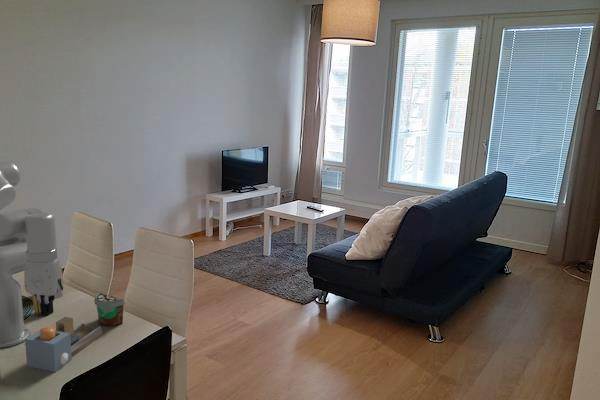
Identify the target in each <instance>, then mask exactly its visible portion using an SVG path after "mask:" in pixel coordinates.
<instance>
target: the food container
mask: <svg viewBox="0 0 600 400" xmlns="http://www.w3.org/2000/svg"><path fill="white" fill-rule="evenodd" d="M102 292H103V291H102V290H101V291H100V292H98V293H96V294H95V296H94V299H93V301H94V305H96V310H97V318H98V323H99V325H100V326H101V327H108V328H109V327H116V326H120V325H121V326H122V324H124V321H123V320H124V305H125V304H126V302H125V299H124V298H120V299H119V298H116V297H114V296H113V295H106V294H104V293H102Z"/></svg>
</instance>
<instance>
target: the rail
mask: <svg viewBox="0 0 600 400" xmlns="http://www.w3.org/2000/svg"><path fill="white" fill-rule="evenodd" d="M74 334H78V335H79V341H78V342H76V343H75V344H73V345H72V346H71V355H72V358H73V357H74V356H77V354H78V353H80V352H81V351H83V350H85V348H86V347H88V346H90V345H91V344H92V343H93V342H95V341H97V340H98V339H99V338H101V337H102V336H103V330H102V326H101V325H100V326H98V327H96V328H95V329H94V328H90V327H89V328H88V327H86V325H85V323H80V325H78V326H77V327H74Z"/></svg>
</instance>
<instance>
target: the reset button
mask: <svg viewBox="0 0 600 400" xmlns="http://www.w3.org/2000/svg"><path fill="white" fill-rule="evenodd" d="M42 328H43V329H42ZM42 328H40V329H41V330H40V329H39V330H40V339H41V340H44V341H50V340H52V339H53V338H55V331H56V327H53V326H47V327H42Z"/></svg>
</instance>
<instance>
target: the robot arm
mask: <svg viewBox="0 0 600 400" xmlns="http://www.w3.org/2000/svg"><path fill="white" fill-rule="evenodd" d="M20 182H21V171H20V170H19V168H18V167H17V166H16V165H15V163H13V162H10V161H8V160H7V161H0V348H7V347H12V346H13V347H14V346H16V345H19V344H21V343H23V342H25V338H27V337H29V336H30V335H31V331H30V329H29V328H28V327H25V321H24V311H23V309H24V308H23V299H22V298H23V296H22V287H21V285H20V284H21V283H20V282H18V280H16V279H15V278H13V275H15V274H18V273H22V272H24V275H23V277H24V280H23V281H24V290H25V292H26V293H28V294H29V295H31V296H32V295H34V296H35V297H36V298H37V300H38V302H39V303H40V308H41V316H40V317H48V316H50V315H52V314H53V313H54V301H55V299H56V300H57V299H60V298H62V297H63V296H64V295H63V292H62V291H64V277H63V276H64V275H63V270H62V266H61V262H60V260H59V258H58V247H57V246H58V245H57V236H56V235H57V234H56V222H55V216H54V215H53V213H50V212H45V211H44V210H42V209H41V208H40V207H31V208H29V207H28V208H25V209H24V208H23V209H18V210H11V211H5V212H1V211H2V210H4V209H5V208H7V207H8V206H10V205H11V204H12V203H13V202H14V201H15V199H16V196H17V190H16V188H15V187H16V186H17V185H19V183H20Z"/></svg>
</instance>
